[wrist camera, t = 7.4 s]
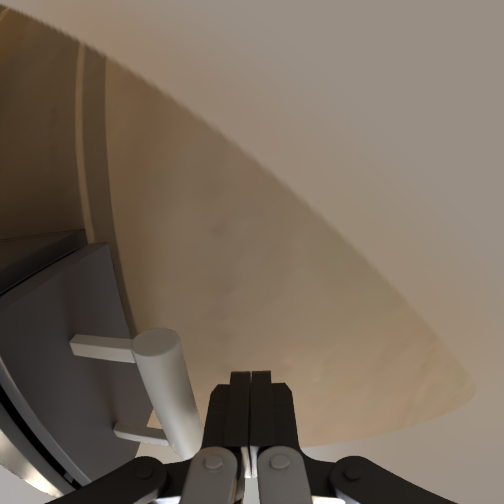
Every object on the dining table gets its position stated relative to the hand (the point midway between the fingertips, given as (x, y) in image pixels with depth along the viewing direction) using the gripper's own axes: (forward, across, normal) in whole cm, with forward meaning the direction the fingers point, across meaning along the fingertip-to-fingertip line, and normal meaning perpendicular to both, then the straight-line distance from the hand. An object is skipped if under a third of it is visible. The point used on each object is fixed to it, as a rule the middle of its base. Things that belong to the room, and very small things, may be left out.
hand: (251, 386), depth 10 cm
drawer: (+3, +10, 0) cm, 11 cm away
